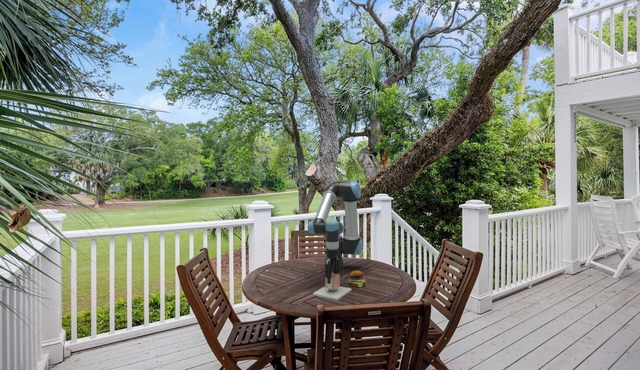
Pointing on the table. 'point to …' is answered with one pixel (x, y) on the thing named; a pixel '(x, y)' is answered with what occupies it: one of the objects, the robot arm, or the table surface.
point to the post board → (332, 292)
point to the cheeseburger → (357, 279)
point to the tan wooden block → (334, 281)
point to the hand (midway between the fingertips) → (332, 286)
